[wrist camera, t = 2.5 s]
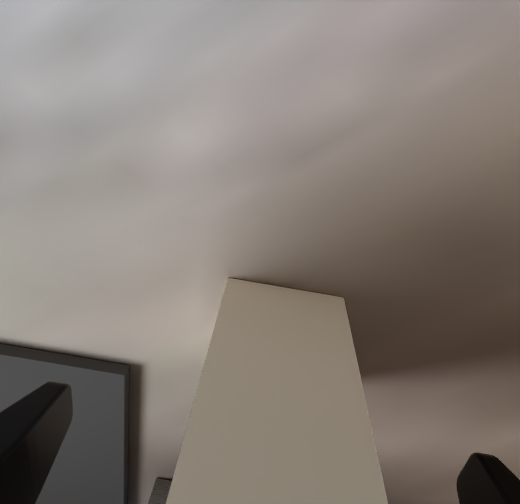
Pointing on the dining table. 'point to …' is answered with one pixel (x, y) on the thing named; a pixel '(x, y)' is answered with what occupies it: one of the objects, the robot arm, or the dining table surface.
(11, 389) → the mat
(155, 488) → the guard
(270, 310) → the cream rectangular prism
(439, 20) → the dining table surface
